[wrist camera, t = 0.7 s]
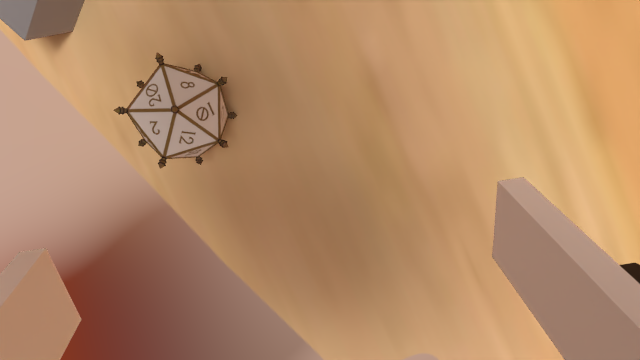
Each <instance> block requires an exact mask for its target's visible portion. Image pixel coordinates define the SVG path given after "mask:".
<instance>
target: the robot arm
mask: <svg viewBox="0 0 640 360" xmlns="http://www.w3.org/2000/svg"><path fill="white" fill-rule="evenodd" d="M492 257H493V259H494V260H495V261H496V263H497V264H498V266H499V267H500V269H501V270H502V271H503V273H504V274H505V276H506V277H507V278H508V280H509V281H510V283H511V284H512V286H513V287H514V288H515V290H516V291H517V293H518V294H519V295H520V297H521V298H522V300H523V301H524V303H525V304H526V305H527V307H528V308H529V310H530V311H531V312H532V314H533V315H534V317H535V318H536V320H537V321H538V322H539V324H540V325H541V327H542V328H543V329H544V331H545V332H546V334H547V335H548V337H549V338H550V339H551V341H552V342H553V344H554V345H555V347H556V348H557V349H558V351H559V352H560V354H561V355H562V356H563V358H564V359H565V360H640V265H639V264H637V263H630V264H624V265H619V264H617V263H616V262H615V261H614V260H613V259H612V258H611V257H610V256H609V255H608V254H607V253H605V252H604V251H603V250H602V249H601V248H600V247H599V246H598V245H597V244H596V243H595V242H593V241H592V240H591V239H590V238H589V237H588V236H587V235H586V234H585V233H584V232H583V231H581V230H580V229H579V228H578V227H577V226H576V225H575V224H574V223H573V222H572V221H571V220H570V219H568V218H567V217H566V216H565V215H564V214H563V213H562V212H561V211H560V210H559V209H558V208H556V207H555V206H554V205H553V204H552V203H551V202H550V201H549V200H548V199H547V198H546V197H544V196H543V195H542V194H541V193H540V192H539V191H538V190H537V189H536V188H535V187H534V186H532V185H531V184H530V183H529V182H528V181H527V180H526V179H525V178H524V177H522V178H516V179H509V180H502V181H498V185H497V199H496V213H495V226H494V240H493V254H492ZM80 321H81V318H80V316H79V314H78V312H77V310H76V308H75V306H74V304H73V302H72V300H71V298H70V296H69V294H68V292H67V290H66V288H65V286H64V283H63V281H62V279H61V277H60V275H59V274H58V272H57V269H56V267H55V265H54V263H53V262H52V259H51V257H50V255H49V253H48V251H47V249H46V248H44V249H37V250H30V251H24V252H19V253H18V254H17V255H16V256H15V258H14V259H13V260H12V261H11V262H10V263H9V265H8V266H7V267H6V268H5V269H4V271H3V272H2V273H1V274H0V360H60V359H61V357H62V355H63V353H64V351H65V349H66V347H67V345H68V344H69V342H70V340H71V338H72V336H73V334H74V332H75V330H76V328H77V327H78V325H79V323H80Z"/></svg>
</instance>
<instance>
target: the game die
mask: <svg viewBox="0 0 640 360" xmlns="http://www.w3.org/2000/svg"><path fill="white" fill-rule="evenodd" d="M155 59H157V62H158V63H159V66H158V67H157V69H156V70H155V71H154V73H153V74H152V75H151V77H150V78H149V79H148V81H147V82H146V83H145V84H144V82H142V81H137V86H138V87H139V88H142V89H141V90H140V91H139V93H138V94H137V95H136V97H135V98H134V99H133V101H132V102H131V103H130V105H129V106H128V107H127V108H126V109H125V108H123V107H122V108H121V107H118V108H117V109H115V110H114V111H115V112H117V113H118V114H119V115H120V114H124V113H127V114H128V116H129V117H130V119H131V120H132V122H133V123H134V125H135V126H136V128H137V129H138V131H139V132H140V134H141V136H142V137H143V139H141V141H139V145H138V146H144V145H146V143H148V144H149V145H150V146H151V147H152V148H153V149H154V150H155V151H156V152H157V153H158V154H159V155H160V156H161V157H162V158H161V159H160V160H159V163H158V164H159V167H160V168H162V167H163V166H166V165H165V163H167V162H166V159H172V158H191V157H196V161H197V162H196V163H198V164H200V165H201V164H202V161H203V160H202V158H201V157H200V155H201V154H203V153H204V152H206V151H207V150H209V149H210V148H211V147H213V146H214V145H216V144H217V143H219V144H220V146H222V148H223V147H228V145H227V141H225V140H221V137H222V134H223V131H224V128H225V125H226V122H227V119H228V117H229V118H233V119H234V118H235V117H236V116H237V115H236V114H235V113H234V112H233V113H232V112H230V113H228V112H227V108H226V105H225V101H224V98H223V94H222V91H221V87H220V86H221V85H224V84H225V83H226V81H227V77H221V79H219V81H218V82H216V81H214V80H212V79H210V78H208V77H206V76H204V75H202V74H201V73H199V72H200V69H201V67H200V64H198V65H195V68H194V71H193V70H189V69H185V68H181V67H177V66H173V65H169V64H165V63H164V61H163V60H164V59H163V56H162V55H160V54H159V53H158V52H157V55H156V58H155Z"/></svg>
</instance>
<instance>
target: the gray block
mask: <svg viewBox="0 0 640 360" xmlns="http://www.w3.org/2000/svg"><path fill="white" fill-rule="evenodd" d="M83 3H84V0H0V19H1V20H2V21H3V22H4V23H6V24H7V25H8V26H9V27H10V28H11V29H12V30H13V31H15V32H16V33H17V34H18V35H19V36H20V37H21V38H23V39H24V40H31V39H36V38H41V37H46V36H51V35H56V34H62V33H67V32H72V31H73V29H74V27H75V24H76V21H77V19H78V16H79V13H80V11H81V8H82V6H83Z"/></svg>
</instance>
